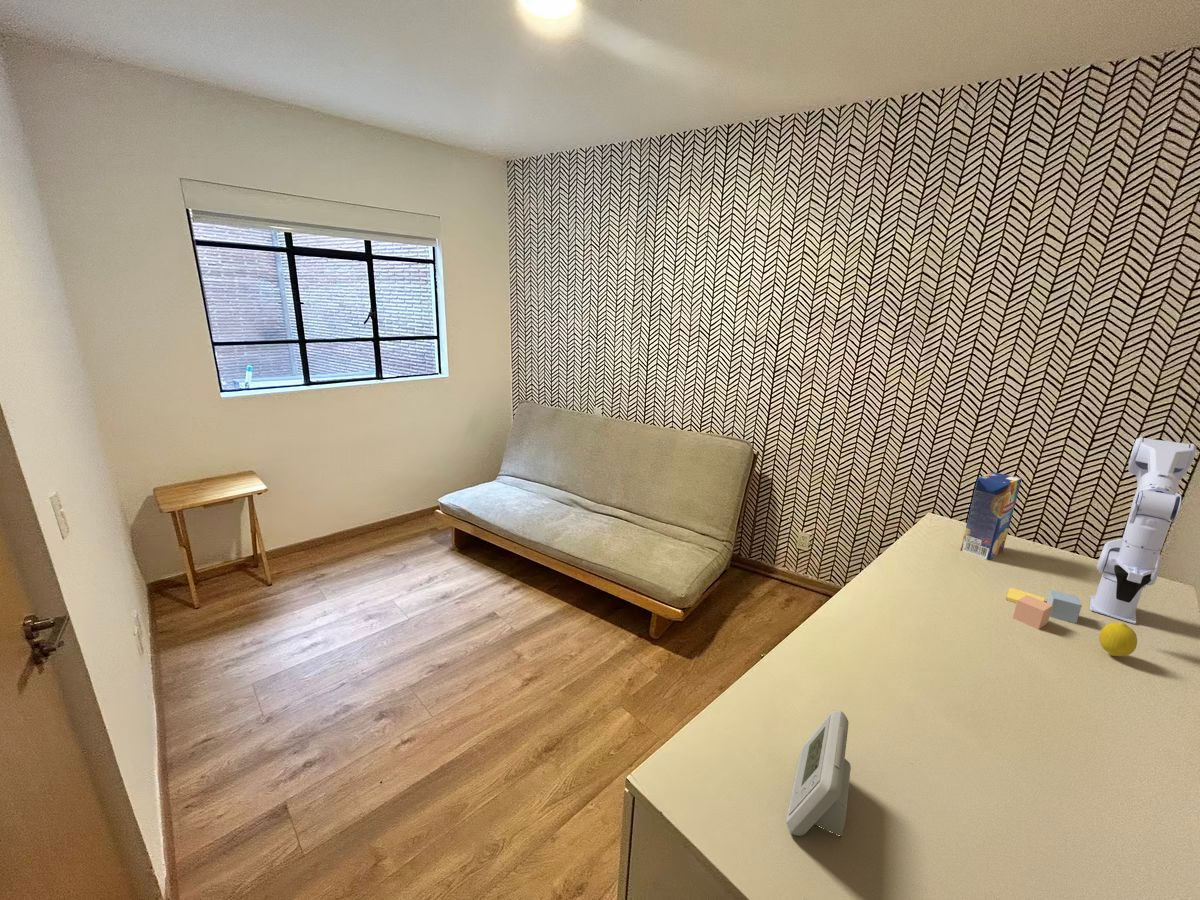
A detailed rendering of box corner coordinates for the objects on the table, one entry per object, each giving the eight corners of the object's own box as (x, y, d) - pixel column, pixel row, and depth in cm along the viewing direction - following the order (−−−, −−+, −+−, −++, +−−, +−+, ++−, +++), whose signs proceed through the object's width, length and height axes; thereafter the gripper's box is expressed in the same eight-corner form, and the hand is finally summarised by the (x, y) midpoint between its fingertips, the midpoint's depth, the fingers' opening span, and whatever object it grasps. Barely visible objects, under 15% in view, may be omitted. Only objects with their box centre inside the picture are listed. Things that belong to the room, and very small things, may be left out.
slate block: (1045, 607, 125) (1050, 589, 124) (1072, 614, 122) (1077, 596, 121) (1048, 616, 121) (1053, 598, 120) (1075, 623, 118) (1081, 605, 117)
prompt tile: (1009, 589, 132) (1010, 587, 132) (1043, 600, 128) (1044, 597, 127) (1005, 599, 128) (1006, 596, 127) (1041, 611, 123) (1042, 608, 123)
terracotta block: (1021, 612, 122) (1027, 595, 121) (1047, 623, 118) (1052, 605, 117) (1012, 618, 120) (1017, 600, 118) (1038, 629, 115) (1043, 610, 114)
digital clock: (804, 748, 82) (814, 694, 79) (864, 782, 76) (876, 725, 73) (763, 819, 70) (772, 758, 67) (830, 865, 64) (843, 801, 61)
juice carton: (988, 560, 149) (1008, 485, 142) (960, 550, 154) (977, 477, 148) (1002, 550, 155) (1022, 478, 149) (975, 541, 161) (992, 471, 155)
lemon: (1138, 666, 104) (1150, 633, 102) (1107, 662, 105) (1118, 629, 103) (1117, 649, 109) (1128, 617, 107) (1087, 645, 110) (1098, 614, 108)
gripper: (1116, 529, 115) (1099, 581, 119) (1115, 548, 105) (1097, 604, 109) (1160, 539, 110) (1141, 593, 114) (1164, 560, 100) (1143, 618, 104)
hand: (1122, 599), depth 111 cm, fingers closed
